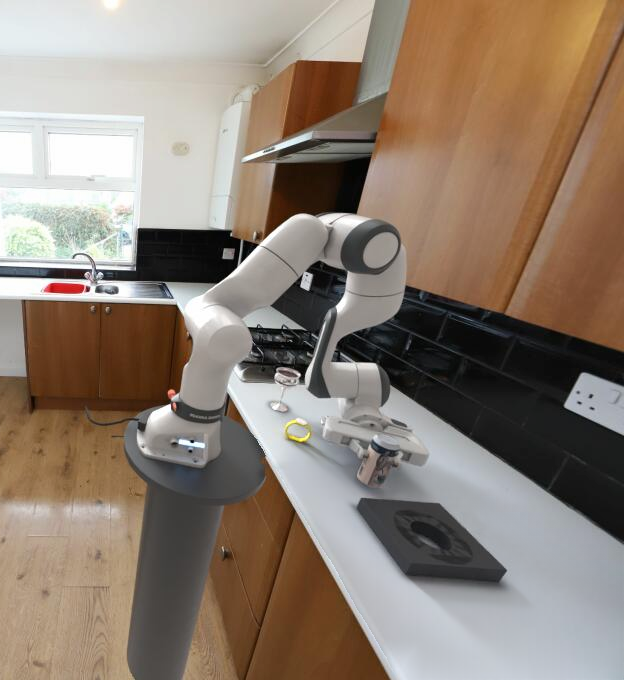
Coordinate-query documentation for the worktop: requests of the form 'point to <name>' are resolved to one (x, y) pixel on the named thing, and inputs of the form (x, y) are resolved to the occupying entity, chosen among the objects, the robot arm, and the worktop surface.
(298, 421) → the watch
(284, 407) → the wineglass
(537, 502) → the worktop surface
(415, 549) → the base
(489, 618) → the worktop surface
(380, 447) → the beer can
